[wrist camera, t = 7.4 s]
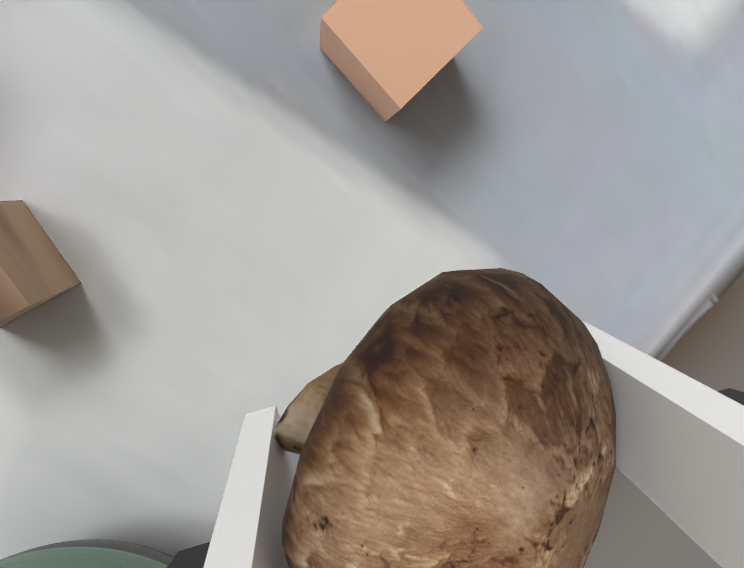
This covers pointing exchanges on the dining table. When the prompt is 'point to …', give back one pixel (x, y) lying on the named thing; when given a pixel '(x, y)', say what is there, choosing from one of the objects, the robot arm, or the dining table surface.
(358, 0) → the terracotta cube
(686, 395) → the robot arm
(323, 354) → the dining table surface
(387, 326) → the mushroom
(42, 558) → the planter
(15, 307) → the walnut cube
